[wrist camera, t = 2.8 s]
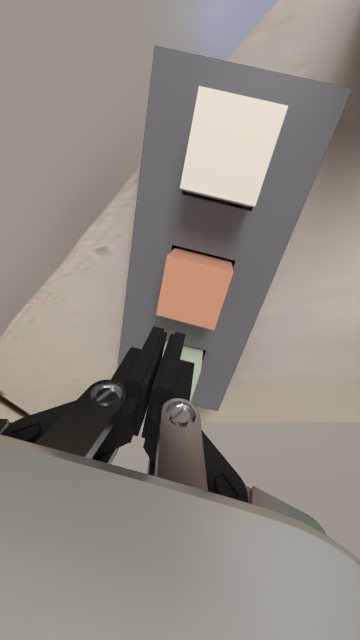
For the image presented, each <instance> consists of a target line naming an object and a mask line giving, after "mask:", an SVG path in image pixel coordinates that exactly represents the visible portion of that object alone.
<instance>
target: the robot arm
mask: <svg viewBox="0 0 360 640" xmlns="http://www.w3.org/2000/svg"><path fill="white" fill-rule="evenodd" d="M185 336H186V334H183V333H179V332H175V334H170V337H169V339H168V342H167V345H166V348H165V351H164V346H165V342H166V337H167V332H164V329H163V328H159V327H156V326H153V328H152V330H151V332H150V334H149V336H148V338H147V340H146V342H145V343H144V345H143V347H142V349H139V348H135V347H131V348H130V349H129V351H128V352H127V354H126V356H125V357H124V359H123V360H122V362H121V364H120V365H119V367H118V369H117V370H116V372H115V374H114V375H113V377H112V379H111V380H101V381H98V382H96V383H94V384H92V385H91V386H90V387H89V388H88V389H87V390H86V391H85V392H84V393H83V394H82V395H81V396H80V397H79V398H78V399H77V400H76V401H73V402H70V403H67V404H64V405H60V406H57V407H54V408H51V409H48V410H45V411H42V412H39V413H36V414H33V415H30V416H27V417H24V418H21V419H19V420H17V421H15V422H13V423H10V422H9V420H8V419H0V640H360V560H359V559H358V558H357V557H356V556H355V555H353V554H352V553H351V552H350V551H348V550H347V549H345V548H344V547H343V546H341V545H340V544H338V543H337V542H335V541H334V540H333V539H331V538H330V537H328V536H327V535H326V533H325V531H324V529H323V528H322V527H321V526H320V525H319V524H318V522H317V521H316V520H314V519H313V518H312V517H310V516H309V515H307V514H305V513H304V512H302V511H300V510H298V509H296V508H294V507H292V506H290V505H288V504H286V503H284V502H283V501H280V500H279V499H277V498H275V497H273V496H271V495H269V494H267V493H266V492H264V491H262V490H260V489H258V488H256V487H254V486H253V487H252V489H251V488H249V487H247V486H245V484H244V482H243V481H242V479H241V478H240V476H239V475H238V474H237V473H236V471H235V470H234V469H233V468H232V467H231V465H230V464H229V463H228V462H227V461H226V459H225V458H224V457H223V456H222V454H221V453H220V452H219V451H218V449H217V448H216V447H215V446H214V445H213V443H211V441H210V440H209V439H208V437H207V436H206V435H205V434H204V432H203V431H202V430H201V421H200V414H199V411H198V409H197V408H196V406H195V405H193V404H192V403H191V402H190V396H191V388H192V380H193V373H194V363H192V362H189V361H185V360H181V359H180V358H181V353H182V349H183V344H184V340H185ZM163 351H164V354H163ZM162 355H163V357H162ZM147 407H148V409H147ZM146 410H147V414H146V418H145V423H144V428H143V432H142V437H143V438H145V443H144V446H143V447H144V449H145V451H146V453H147V454H148V456H149V463H148V471H147V474H144V473H140V472H137V471H133V470H129V469H126V468H122V467H119V466H115V465H111V463H112V461H113V459H114V458H115V456H116V454H117V452H118V448H119V447H121V446H123V445H125V444H127V443H131V440H132V437H133V435H135V436H138V434H139V431H140V428H141V425H142V422H143V419H144V416H145V413H146Z"/></svg>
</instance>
